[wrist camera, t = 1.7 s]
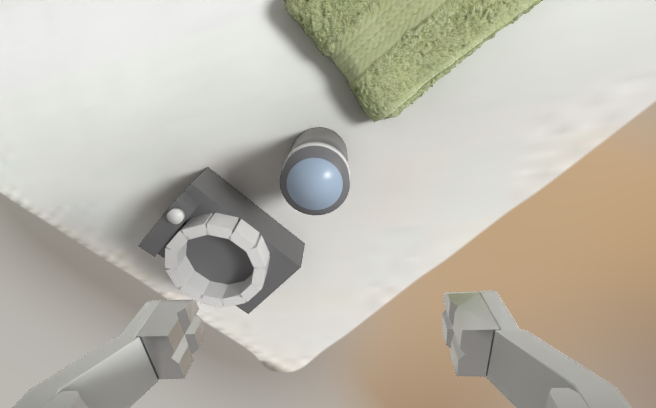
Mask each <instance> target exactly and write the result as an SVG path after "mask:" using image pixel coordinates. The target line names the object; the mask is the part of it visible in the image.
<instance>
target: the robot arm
mask: <svg viewBox="0 0 656 408" xmlns="http://www.w3.org/2000/svg"><path fill="white" fill-rule="evenodd" d="M443 304H444V307H445V311H444V312H443V313H442V331H443V336H444V339H445V343H446V345H447V346H449V347H450V348H451V353H450V358H451V361H452V363H453V367H454V370H455V372H456V375H457V376H480V377H481V376H482V377H487V379H488V380H489V381H490V382H491V383H492V384H493V385H494V386H495V387H496V388H497V389H498V390H499V391H500V392H501V393H502V394H503V395H504V396H505V397H506V398H507V399H508V400H509V401H510V402H511V403H512V404H513V405H514V406H515V407H516V408H632V407H631V406H630V404H629V403H628V402H627V400H626V399H625V398H624V397H623V396H622V394H621V393H620V392H619V390H618V389H617V388H616V387H615V386H614V385H612V384H611V383H609V382H607V381H606V380H604V379H603V378H601V377H600V376H598V375H596V374H595V373H593V372H592V371H590V370H589V369H587V368H585V367H584V366H582V365H581V364H579V363H578V362H576V361H574V360H573V359H571V358H570V357H568V356H566V355H565V354H563V353H562V352H560V351H558V350H557V349H555V348H554V347H552V346H551V345H549V344H547V343H546V342H544V341H543V340H541V339H539V338H538V337H536V336H535V335H533V334H532V333H530V332H528V331H527V330H520V328H519V327H518V325H517V324H516V322H515V321H514V319H513V317H512V315H511V314H510V312H509V310H508V309H507V307H506V306H505V304H504V302H503V301H502V299H501V298H500V296H499V294H498V293H497V292H496V291H495V290H492V291H478V292H449V293H445V294H444V298H443ZM198 309H199V308H198V306H197V303H196V301H194V300H150V301H148V302H146V304H145V305H144V306H143V307H142V308H141V310H140V311H139V312H138V314H137V315H136V316H135V317H134V319H133V320H132V321H131V322H130V324H129V325H128V326H127V328H126V329H125V330H124V331H123V333H122V334H121V335H120V336H119V338H113V339H111V340H109V341H108V342H106V343H105V344H103V345H101V346H100V347H98V348H96V349H95V350H93V351H91V352H90V353H88V354H87V355H85V356H84V357H82V358H80V359H78V360H77V361H75V362H73V363H72V364H70V365H69V366H67V367H65V368H64V369H62V370H60V371H59V372H57V373H56V374H54V375H52V376H51V377H49V378H47V379H46V380H44V381H42V382H41V383H39V384H38V385H36V386H34V387H33V388H31V389H29V391H28V392H27V393H26V394H25V395H24V396H23V397H22V398H21V399H20V400H19V401H18V402H17V404H16V405H15V406H14V407H13V408H130V407H131V406H132V405H133V404H134V403H135V402H136V401H137V400H138V399H139V398H141V396H143V395H144V394H145V393H146V392H147V391H148V390H149V389H150V388H151V387H152V386H153V385H154V384H156V383H157V382H158V379H181V378H185V376H186V374H187V372H188V370H189V368H190V366H191V364H192V362H193V357H192V353H194V352H195V351H196V350H198V349H199V347H200V345H201V343H202V341H203V336H204V324H203V321H202V319H201V318H200V317H199V316H198V315H196V313H197V311H198Z"/></svg>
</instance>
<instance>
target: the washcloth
mask: <svg viewBox="0 0 656 408" xmlns="http://www.w3.org/2000/svg"><path fill="white" fill-rule="evenodd" d="M284 1H285V10H287V12H288V13H289V15H292V16H293V19H294V20H295V21H297V22H298V23H299V25H300V26H301V27H302V28H303V29H304V32H305V34H306V35H309V37H310V38H313V39H314V42H315V43H316V45H317V48H318V49H319V51H322V53H323V54H322V55H325V56H329V57H330V58H331V59H332V60H333V61H334V63H335V65H336V66H337V67H338V68H339V70H340V71H341V72H342V73H343V74H344V76H345V77H346V78H347V79H348V84H349V87H350V88H351V89H352V92H353V93H354V95H355V96H357V100H358V102H359V103H360V104H361V107H362V109H363V111H364V112H365V113H366V114H367V116H368V117H370V118H371V119H372V120H373V121H374V122H375V121H378V120H380V119H383V118H384V119H386V118H391V117H396V116H398V115H399V114H400V113H401V112H402V111H403V109H404V108H407V106H409V105H410V104H413V102H414V101H415V100H416V99H417V98H419V97H421V96H422V95H423V93H424V92H425V91H428V88H429V87H430V86H431V87H433V84H434V83H435V82H436V81H437V80H439V78H441V77H443V76H444V75H445V74H447V73H449V72H450V71H451V69H453V68H454V67H456V65H457V64H459V63H461V62H462V60H463V59H465V58H466V57H468V56H470V55H471V54H472V53H473V52H474V51H476V49H477V48H480V47H481V45H482V44H483V43H484V42H485V41H487V40H489V39H491V38H493V37H494V36H495V34H496V32H498V31H499V30H500V29H502V28H504V27H506V26H508V25H509V24H511V23H514V22H515V21H516V20H518V19H519V17H520V16H521V15H522V14H526V13H527V12H529V11H530V10H531V9H532V8H533V7H534V6H535V5H537V4H539V3H540V2H541V1H542V0H284Z"/></svg>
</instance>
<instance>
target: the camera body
mask: <svg viewBox="0 0 656 408" xmlns="http://www.w3.org/2000/svg"><path fill="white" fill-rule="evenodd" d="M304 245H305V243H303V242H302V241H301V240H299V239H298V238H297V237H296V236H294V235H293V234H292V233H291V232H289V231H288V230H287V229H286V228H284V227H283V226H282V225H281V224H279V223H278V222H277V221H275V220H274V219H273V218H272V217H270V216H269V215H268V214H267V213H265V212H264V211H263V210H262V209H260V208H259V207H258V206H256V205H255V204H254V203H253V202H251V201H250V200H249V199H248V198H246V197H245V196H244V195H243V194H241V193H240V192H239V191H238V190H236V189H235V188H234V187H232V186H231V185H230V184H229V183H227V182H226V181H225V180H224V179H222V178H221V177H220V176H219V175H217V174H216V173H215V172H213V171H212V170H211V169H210V168H207V169H205V170H204V171H203V172H202V173H201V174H200V175H199V176H198V177H197V178H196V179H195V180H194V181H193V182H192V183H191V184H190V185H189V186H188V188H187V189H186V190H185V191H184V192H183V193H182V194H181V195H180V196H179V197H178V198H177V199H176V200H175V201H174V203H173V204H172V205H171V206H170V207H169V209H168V210H167V211H166V212H165V214H164V215H163V216H162V217H161V219H160V220H159V221H158V222H157V223H156V225H155V226H154V227H153V228H152V230H151V231H150V232H149V233H148V234H147V236H146V237H145V238H144V239H143V241H142V242H141V243H140V244H139V245H138V246H139V247H141V248H142V249H144V250H145V251H147V252H148V253H150V254H151V255H153V256H154V257H155V256H156V255H157V254H159V255H161V256H162V257H164V258H165V268H167V269H166V272H167V273H168V275H169V277H170V278H171V280H172V281H173V283H174V285H175V286H176V288H179V287H180V289H179V291H181V292H182V293H184V294H186V295H187V296H189V297H190V298H192V299H193V300H195V301H196V302H198V301H199V300H200V299H201V301H200V303H201V304H206V305H211V306H217V307H223V305H224V306H225V307H230V306H234V305H236V306H237V307H239V308H240V309H242V310H243V311H245V312H246V313H248V314H249V313H250V312H251V311H252V310H253V309H254V308H256V307H257V306H258V305H259V304H260V303H261V302H262V301H263V300H265V299H266V298H267V297H268V296H269V295H270V294H271V293H272V292H273V291H275V290H276V289H277V288H278V287H279V286H280V285H281V284H282V283H284V282H285V281H286V280H287V279H288V278H289V277H290V276H291V275H293V274H294V273H295V272H296V271H297V270H298V269H299V268H300V267H301V263H302V257H303V251H304Z"/></svg>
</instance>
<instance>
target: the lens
mask: <svg viewBox="0 0 656 408" xmlns="http://www.w3.org/2000/svg"><path fill="white" fill-rule="evenodd" d="M350 178H351V177H350V168H349V165H348V157H347V149H346V145H345V143H344V141H343V140H342V138H341V137H340V136H339V135H338V134H337V133H336V132H334V131H332V130H330V129H327V128H323V127H315V128H311V129H308V130H306V131H304V132H303V133H301V134H300V135H299V136H298V138H297V139H296V141H295V142H294V145H293V147H292V149H291V152H290V154H289V155H288V156H287V158H286V160H285V162H284V164H283V167H282V172H281V176H280V187H281V191H282V194H283V196H284V198H285V199H286V201H287V202H288V203H289V204H290V205H291V206H292V207H293V208H294V209H296V210H298V211H299V212H302V213H305V214H309V215H323V214H327V213H330V212H332V211H334V210H335V209H337V208H338V207H339V206H340V205H341V204H342V203H343V202H344V201H345V199H346V197H347V195H348V192H349V187H350Z"/></svg>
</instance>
